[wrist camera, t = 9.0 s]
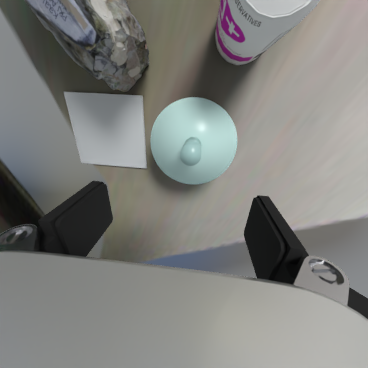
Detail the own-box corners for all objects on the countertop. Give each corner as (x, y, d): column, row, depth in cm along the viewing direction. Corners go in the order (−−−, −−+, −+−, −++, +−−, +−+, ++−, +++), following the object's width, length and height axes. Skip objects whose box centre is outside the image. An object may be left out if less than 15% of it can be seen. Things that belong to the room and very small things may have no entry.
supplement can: (219, 73, 27) (236, 44, 14) (210, 7, 24) (220, -117, 10) (272, 56, 25) (349, 4, 12) (270, -17, 22) (374, -202, 9)
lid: (149, 95, 25) (133, 92, 19) (244, 99, 24) (258, 98, 18) (153, 179, 31) (142, 196, 25) (228, 185, 30) (234, 205, 24)
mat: (65, 91, 31) (63, 91, 30) (142, 95, 30) (141, 95, 29) (82, 162, 37) (81, 163, 37) (147, 167, 36) (146, 168, 36)
